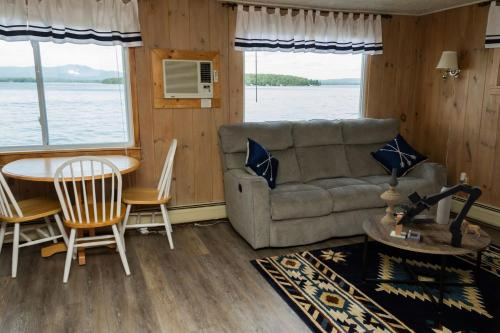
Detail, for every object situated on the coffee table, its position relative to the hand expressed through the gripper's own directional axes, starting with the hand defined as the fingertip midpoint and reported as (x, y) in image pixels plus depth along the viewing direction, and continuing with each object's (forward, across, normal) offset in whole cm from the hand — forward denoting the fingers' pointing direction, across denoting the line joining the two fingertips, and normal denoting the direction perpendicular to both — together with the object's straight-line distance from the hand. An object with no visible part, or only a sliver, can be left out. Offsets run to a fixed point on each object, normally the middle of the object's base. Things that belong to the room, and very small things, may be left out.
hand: (397, 222), depth 249 cm
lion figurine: (-25, -28, +37) cm, 53 cm away
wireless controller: (-1, -38, +14) cm, 40 cm away
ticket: (+5, 0, +6) cm, 8 cm away
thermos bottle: (-13, -43, +25) cm, 52 cm away
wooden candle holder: (+11, -22, +1) cm, 25 cm away
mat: (+5, 0, +7) cm, 8 cm away
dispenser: (-2, 0, +14) cm, 14 cm away
